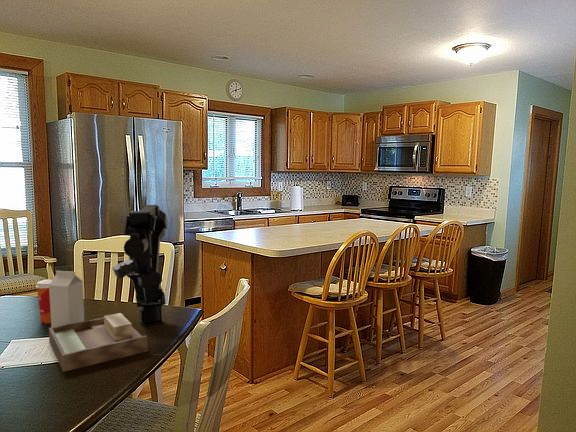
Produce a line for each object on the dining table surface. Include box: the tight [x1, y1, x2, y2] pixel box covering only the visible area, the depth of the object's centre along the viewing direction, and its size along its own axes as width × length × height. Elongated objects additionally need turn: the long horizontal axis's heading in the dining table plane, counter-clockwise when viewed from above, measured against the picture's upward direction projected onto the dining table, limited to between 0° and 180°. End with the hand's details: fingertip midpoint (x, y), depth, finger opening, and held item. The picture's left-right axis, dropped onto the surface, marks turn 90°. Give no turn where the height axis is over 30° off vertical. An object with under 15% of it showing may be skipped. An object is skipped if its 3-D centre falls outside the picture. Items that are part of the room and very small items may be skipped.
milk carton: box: [49, 270, 85, 328], centre depth 142 cm, size 7×7×19 cm
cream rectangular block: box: [103, 312, 133, 340], centre depth 130 cm, size 5×12×4 cm, turn 37°
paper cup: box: [35, 278, 53, 324], centre depth 148 cm, size 8×8×14 cm
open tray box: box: [48, 313, 149, 373], centre depth 127 cm, size 22×24×4 cm
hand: (143, 299), depth 134 cm, fingers open, 9 cm apart
